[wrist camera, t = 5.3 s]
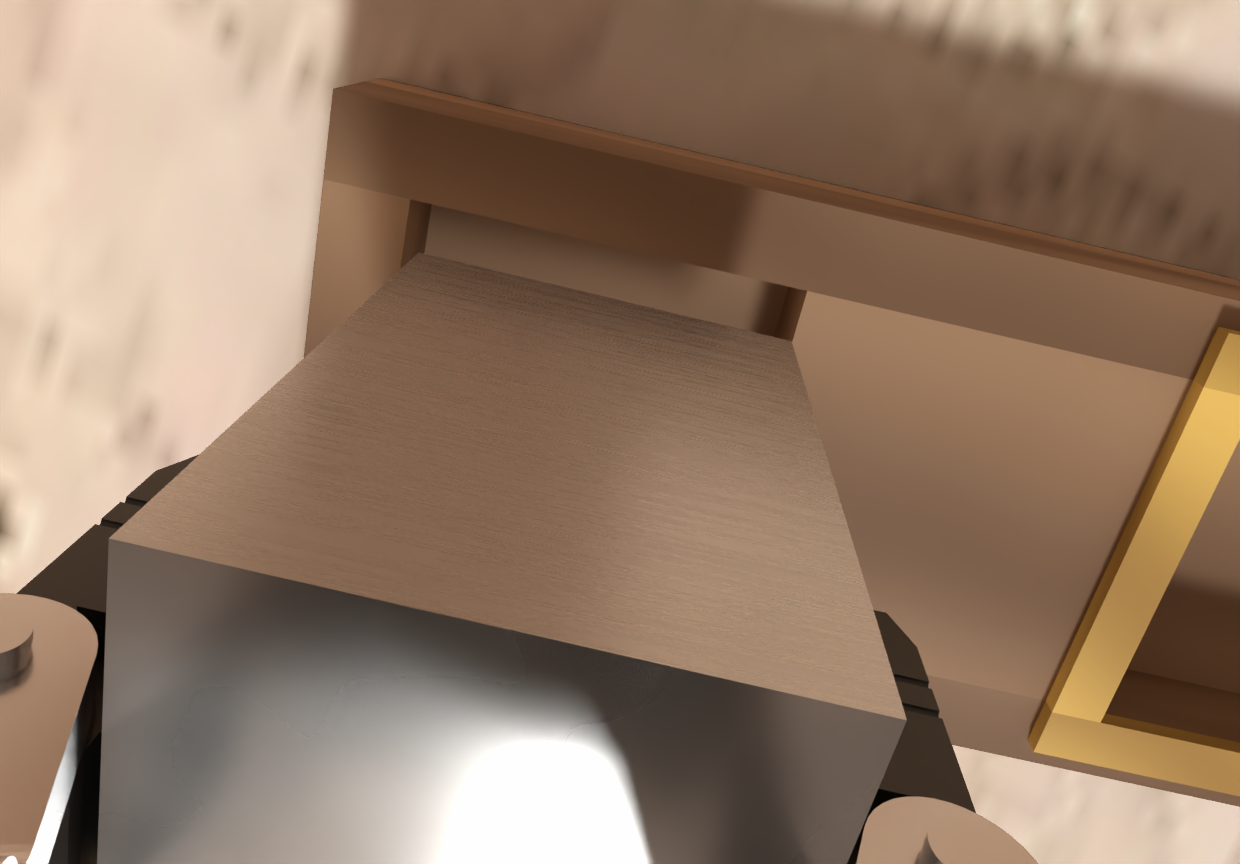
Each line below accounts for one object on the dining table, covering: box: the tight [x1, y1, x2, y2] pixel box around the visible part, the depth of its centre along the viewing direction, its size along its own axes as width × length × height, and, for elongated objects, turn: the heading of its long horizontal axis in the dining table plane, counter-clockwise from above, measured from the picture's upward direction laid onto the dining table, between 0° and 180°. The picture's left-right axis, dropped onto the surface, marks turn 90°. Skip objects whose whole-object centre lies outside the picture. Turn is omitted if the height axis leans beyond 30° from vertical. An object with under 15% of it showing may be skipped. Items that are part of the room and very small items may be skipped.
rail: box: [304, 78, 1240, 807], centre depth 16 cm, size 8×20×3 cm, turn 77°
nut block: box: [97, 253, 907, 864], centre depth 10 cm, size 4×4×7 cm
